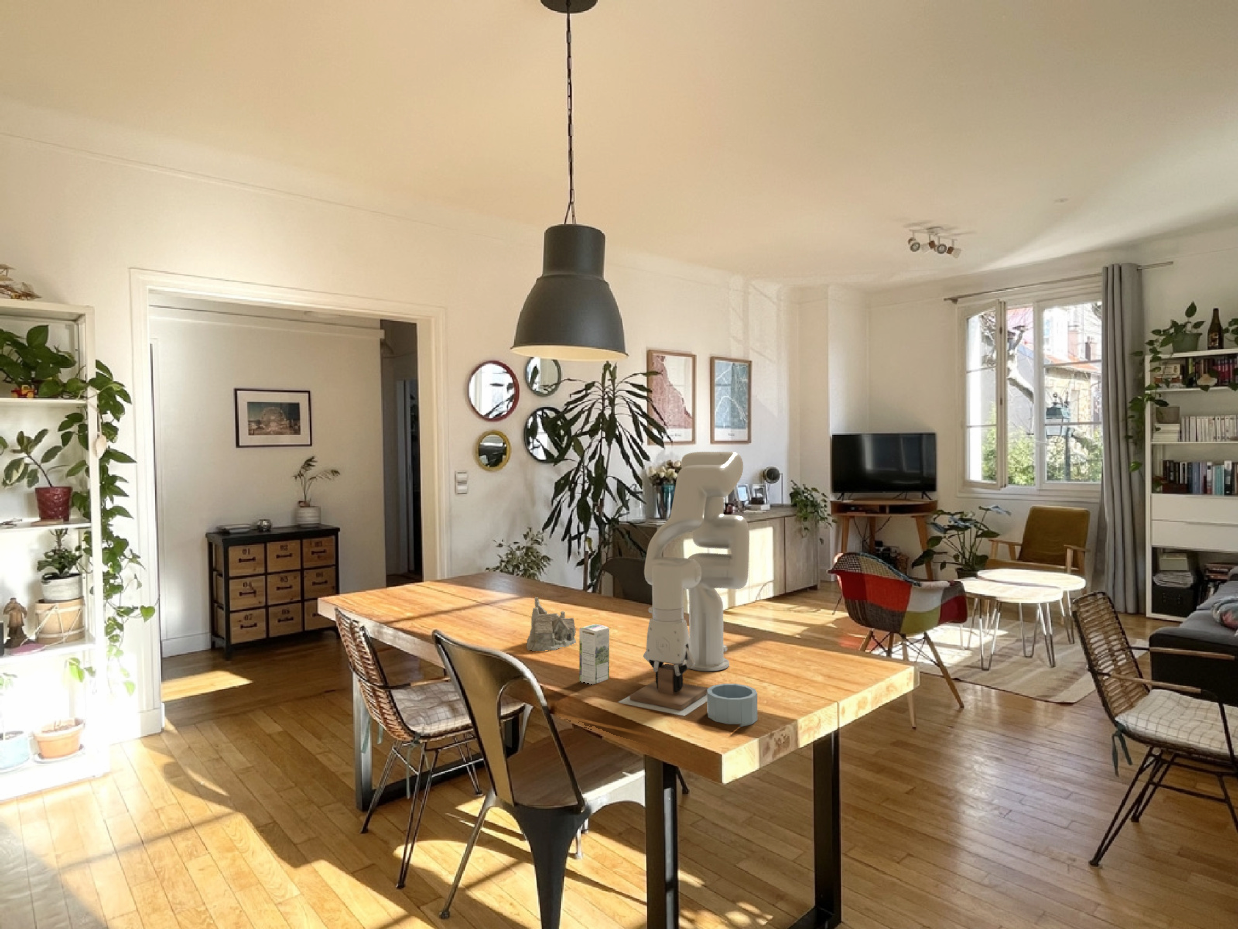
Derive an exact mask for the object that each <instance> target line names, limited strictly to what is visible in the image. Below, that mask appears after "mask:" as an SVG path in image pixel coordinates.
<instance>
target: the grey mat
mask: <svg viewBox="0 0 1238 929" xmlns="http://www.w3.org/2000/svg"><path fill="white" fill-rule="evenodd" d="M618 703H620V704H625V705H627V706H633V707H639V708H643V709H648V710H653V711H658V712H663V713H669V714H672V715H673V714H674V715H678V716H682V717H685V716H687V715H689V714H690V713H692V712H693V711H694V710H696V709H698V707H701V706H702V705H703V704H705V703H707V694H705V695H704V696H702V697H701V698H699V699H698V700H696V701H695V702H693V703H692V704H690V705H689V706H687V707H686V708H684V709H683V710H677V709H672V708H668V707H663V706H658V705H653V704H648V703H643V702H638V701H633V700H630V695H628V696H627V697H625V698H623V699H621V700H619V701H617V704H618Z"/></svg>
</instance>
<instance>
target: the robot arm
mask: <svg viewBox="0 0 1238 929" xmlns="http://www.w3.org/2000/svg"><path fill="white" fill-rule="evenodd" d="M680 461H681V462H680V467H681V469H680V470H679V471H678V473H677V477H676V482H675V488H674V493H673V500H672V504H671V505H672V506H671V512H670V516H669V518H668V519H667V521H665V522H664V523H663V524H662V525H661V526H660V527H659V528H658V529H657V530H656V532H654V535H653V536H652V538H651V539H650V541H649V543H648V546H647V549H646V550H647V551H646V557H645V562H644V570H643V574H644V578H645V581H646V582H647V584H649V585H650V586H651V589H652V590H651V595H652V596H651V597H652V606H651V607H648V610H647V611H648V613H650V614H651V616H652V617H651V618H650V619H649V621H648V625H647V626H648V627H647V633H646V644H645V645H646V649H645V651H644V653H643V655H642V657H643V658H644V659H645V661H647V662H648V663H649V665H650V666H651V667H652V669H653V672H655V681H656V684H657V689H658V667H660V666H662V665H664V664H671V665H674V669H675V675H674V677H673V679H674V692H678V691H679V690H681V689H682V687H683V683H684V673H685V672H686V671H687V670H688V669H691V670H694V671H698V672H699V671H700V672H716V671H721V670H725V669H727V668H729V666H730V661H729V660H728V659H727V658H725V657H724V655H725V654H724V653H725V652H727V651H728V646H727V645H726V644H724V604H723V603H724V602H723V599H722V597H721V595H720V594H719V592H718V591H717V590H716V589H728V590H729V589H730V590H740V589H744V588H745V587H746V585H747V583H748V578H749V568H750V567H749V566H750V564H749V563H750V561H749V560H750V559H749V558H750V528H749V524H748V521H747V519H746V518H745V517H744V516H740V515H738V514H736V515H735V514H724V500H725V499H724V498H725V497H727V496H729V495H730V494H731V493H732V492H733V490H734V489H735V487H736V486H737V484H739V481H740V480H741V478H742V475H743V473H744V472H743V471H744V462H743V459H742V456H741V455H740V454H739V453H737V452H735V451H694V452H689V453H686V454H684V455H683V456H682V458H681V460H680ZM690 532H692V533H691V534H692V541H693V542H692V543H694V544H695V546H697V547H700V548H704V549H719V550H721V549H722V550H729V551H730V553H729V554H728V553H718V552H717V553H714V552H713V553H712V552H699V553H693V554H691V555H689V557H675V556H674V557H672V556H670V557H669V556H662V554H663V552H664V549H665V548H666V547H667V546H668V544H670V543H671V542H672V541H674V540H676V539H677V538H679V537H681V536H683V535H686V534H689V533H690ZM684 590H688V591H687V592H688V620H689V621H688V622H689V623H687V620H686V619H685V616H684V613H685V612H684V611H685V610H684V609H685V607H684ZM688 626H689V628H688Z"/></svg>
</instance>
